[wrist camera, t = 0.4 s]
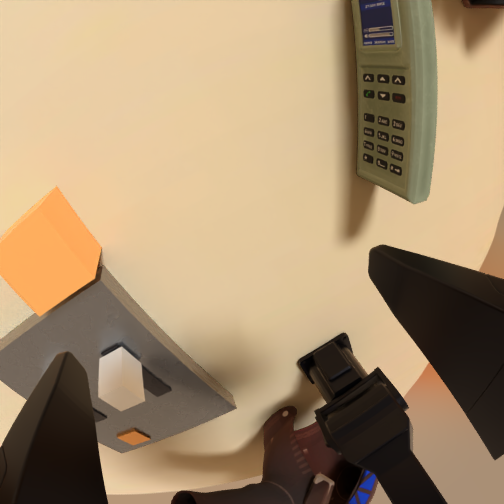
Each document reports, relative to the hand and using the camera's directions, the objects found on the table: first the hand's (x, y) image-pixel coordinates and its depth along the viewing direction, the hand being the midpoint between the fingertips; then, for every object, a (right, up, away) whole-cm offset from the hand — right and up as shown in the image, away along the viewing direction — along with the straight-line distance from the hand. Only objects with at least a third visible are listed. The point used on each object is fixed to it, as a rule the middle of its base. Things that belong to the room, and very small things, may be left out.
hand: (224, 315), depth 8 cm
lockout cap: (-14, +3, +10) cm, 17 cm away
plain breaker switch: (-10, -7, +15) cm, 19 cm away
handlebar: (+7, -25, +35) cm, 43 cm away
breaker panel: (-14, -12, +19) cm, 26 cm away
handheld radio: (+9, +19, +10) cm, 23 cm away
